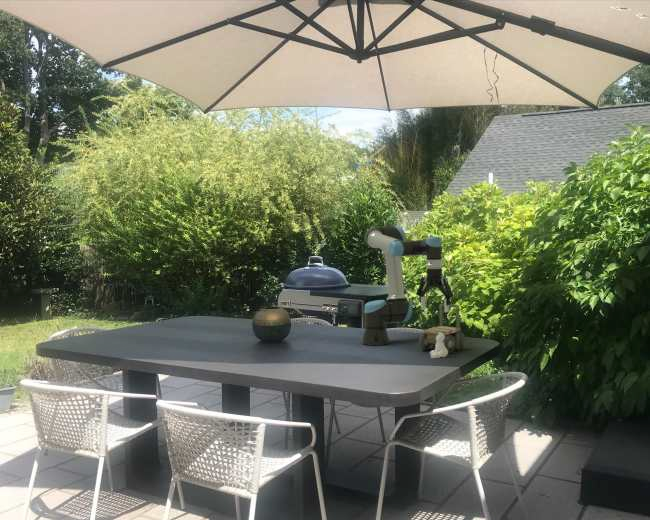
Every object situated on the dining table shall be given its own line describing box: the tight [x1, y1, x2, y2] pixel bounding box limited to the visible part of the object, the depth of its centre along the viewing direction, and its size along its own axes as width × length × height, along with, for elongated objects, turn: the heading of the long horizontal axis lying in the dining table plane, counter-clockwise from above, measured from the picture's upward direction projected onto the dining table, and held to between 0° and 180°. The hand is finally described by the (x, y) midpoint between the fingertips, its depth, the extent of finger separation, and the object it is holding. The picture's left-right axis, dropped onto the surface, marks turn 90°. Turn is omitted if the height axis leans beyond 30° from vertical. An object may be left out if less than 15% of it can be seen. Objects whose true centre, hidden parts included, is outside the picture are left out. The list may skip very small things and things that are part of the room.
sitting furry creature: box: [429, 332, 449, 359], centre depth 310 cm, size 10×9×12 cm
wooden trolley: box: [418, 303, 466, 354], centre depth 325 cm, size 19×16×23 cm
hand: (434, 310), depth 314 cm, fingers open, 13 cm apart
